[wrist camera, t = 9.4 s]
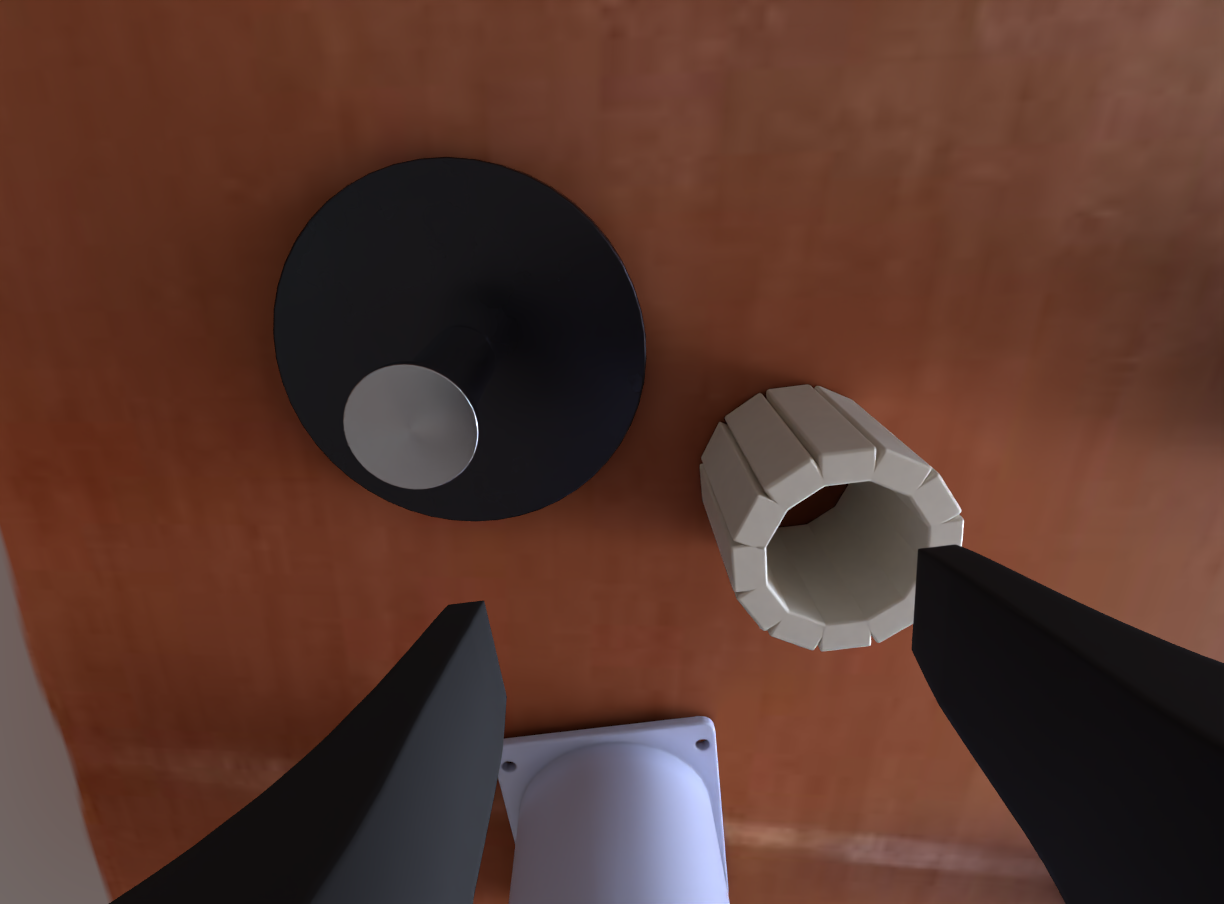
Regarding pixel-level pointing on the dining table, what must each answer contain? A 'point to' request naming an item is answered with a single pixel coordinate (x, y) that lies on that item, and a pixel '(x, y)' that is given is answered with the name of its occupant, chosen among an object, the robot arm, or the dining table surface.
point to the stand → (459, 339)
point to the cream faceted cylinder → (822, 517)
